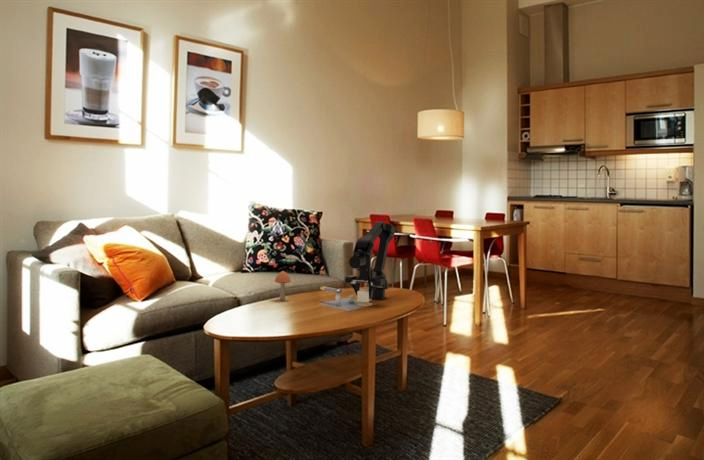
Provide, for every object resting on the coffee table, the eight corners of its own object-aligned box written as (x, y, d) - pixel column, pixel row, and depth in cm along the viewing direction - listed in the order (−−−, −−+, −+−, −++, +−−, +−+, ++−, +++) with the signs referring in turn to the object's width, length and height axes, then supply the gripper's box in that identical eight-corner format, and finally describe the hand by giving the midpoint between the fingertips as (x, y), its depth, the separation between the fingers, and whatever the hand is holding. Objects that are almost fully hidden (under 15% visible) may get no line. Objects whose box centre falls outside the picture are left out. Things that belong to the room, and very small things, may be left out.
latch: (343, 292, 237) (343, 289, 237) (338, 293, 234) (338, 290, 234) (324, 288, 245) (324, 286, 245) (319, 289, 242) (319, 287, 242)
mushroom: (288, 302, 247) (287, 272, 246) (272, 302, 249) (272, 271, 248) (293, 299, 255) (293, 269, 254) (278, 298, 257) (277, 269, 256)
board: (346, 300, 254) (346, 285, 254) (376, 306, 240) (376, 291, 240) (317, 306, 241) (317, 291, 240) (347, 313, 227) (347, 297, 226)
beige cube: (360, 298, 242) (360, 288, 242) (371, 299, 241) (371, 289, 240) (357, 301, 237) (357, 290, 237) (368, 301, 236) (368, 291, 235)
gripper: (389, 264, 241) (389, 297, 242) (355, 262, 249) (354, 293, 251) (380, 268, 231) (379, 302, 232) (344, 265, 239) (343, 297, 241)
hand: (364, 298), depth 239 cm, fingers closed on beige cube, 6 cm apart
